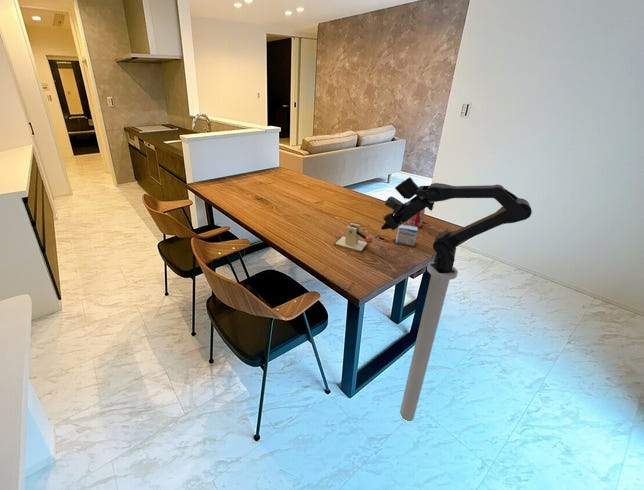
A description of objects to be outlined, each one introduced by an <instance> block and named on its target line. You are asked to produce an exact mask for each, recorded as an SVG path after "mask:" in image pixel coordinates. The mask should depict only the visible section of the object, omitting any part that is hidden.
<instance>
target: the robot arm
mask: <svg viewBox="0 0 644 490" xmlns="http://www.w3.org/2000/svg"><path fill="white" fill-rule="evenodd" d="M412 178H413V177H411V176H409V177H408V178H406V179H404V180H402V181H401V182H400V183H399V184H397V185H396V186H395V187H394V189H395V190H396V191H397V192H398V194H399V195H400V196H401V197H402V198H403V199H405V200H408V201H406V202H404V203H403V202H402V201H401V200H399V199H397V198H396V197H395V196H389V197H388V198H387V199H386V200H385V202H384V206H385V207H388V208H390V209H391V210H392V212H391V213H390V212H389V213H387V214H386V215H385V216H383V217H382V219H383V220H384V222H385V223H383V224H382V225H381V227H380V229H381V230H382V231H383V230H389V229H390V230H392V231H395V230H396V229H398V228H399V226H400V225H401V224H402V225H403V224H404V223H405V222H406V223H407V221H408V220H409V219H411V217H413V216H414V215H416V214H417V213H419V212H420V211H422V210H423V209H425V210H426V208H427V209H428V210H429V211H430V212H432V211H433V209H434V205H435V203H438V202H444V201H448V200H453V199H494V200H495V201H496V202H497V203H499V205H501V207H500V208H499V209H497V210H496V211H495V212H493V213H491V214H489V215H487V216H485V217H482V218H480V219H478V220H476V221H474V222H472V223H470V224H467V225H466V226H463V227H461V228H459V229H457V230H451V231H450V229H449V228H446V229H444V230H443V231H441V232H438V233H437V235H436V236H435V238H434V240H433V243H432V248H433V250H434V251H435V253H436V254H435V257H434V261H433V262H434V263H431V264H430V265H431V266H432V267H433V268H434V269H435V270H436V271H437V272H439V273H455V270H453V269H452V268H453V267H454V263H455V260H456V253H457V252H456V251H457V247H458V245H460V244H461V243H462V242H465V241H467V240H469V239H472V238H474V237H476V236H479V235H481V234H483V233H485V232H488V231H490V230H492V229H494V228H497V227H500V226H501V225H506V224H515V223H519V222H521V221H526V220H528V219H529V218H531V216H532V213H533V209H532V208H531V204H530V203H529V201H528V200H527V199H525V198H520V197H518V196H517V195H515V194H514V193H512V192H511V191H509V190H508V189H506V188H505V187H504V186H503V185H501V184H493V185H492V184H491V185H489V184H488V185H487V184H486V185H450V184H446V183H439V182H434V183H433V182H432V183H431V184H429V185H419V186H418V184H416V182H414V179H412Z"/></svg>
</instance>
